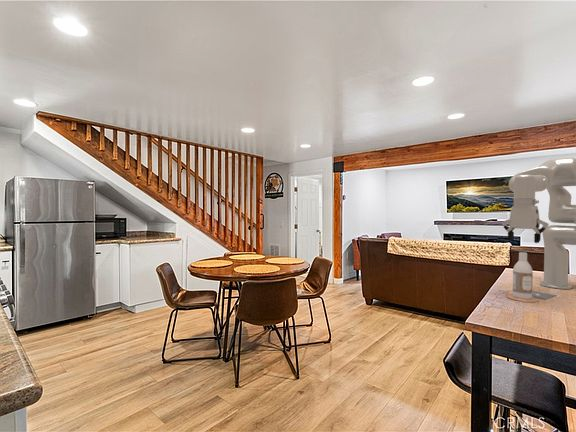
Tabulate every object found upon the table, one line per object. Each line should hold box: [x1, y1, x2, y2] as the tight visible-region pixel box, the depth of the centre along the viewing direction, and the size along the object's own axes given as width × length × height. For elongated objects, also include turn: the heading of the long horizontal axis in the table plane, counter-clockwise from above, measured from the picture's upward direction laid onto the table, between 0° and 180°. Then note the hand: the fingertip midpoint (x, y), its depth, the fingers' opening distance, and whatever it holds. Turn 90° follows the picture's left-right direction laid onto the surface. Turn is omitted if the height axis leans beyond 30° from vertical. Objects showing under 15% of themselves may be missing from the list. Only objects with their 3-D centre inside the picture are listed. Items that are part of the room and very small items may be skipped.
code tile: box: [532, 290, 557, 300], centre depth 145 cm, size 12×12×1 cm
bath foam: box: [512, 251, 534, 299], centre depth 138 cm, size 7×7×20 cm
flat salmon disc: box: [506, 293, 539, 303], centre depth 138 cm, size 11×11×1 cm
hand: (523, 241), depth 138 cm, fingers open, 9 cm apart
